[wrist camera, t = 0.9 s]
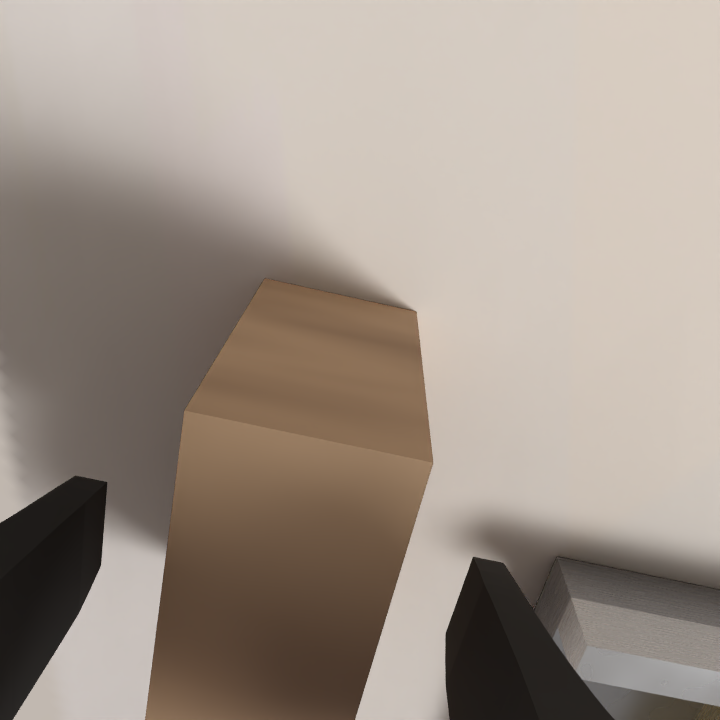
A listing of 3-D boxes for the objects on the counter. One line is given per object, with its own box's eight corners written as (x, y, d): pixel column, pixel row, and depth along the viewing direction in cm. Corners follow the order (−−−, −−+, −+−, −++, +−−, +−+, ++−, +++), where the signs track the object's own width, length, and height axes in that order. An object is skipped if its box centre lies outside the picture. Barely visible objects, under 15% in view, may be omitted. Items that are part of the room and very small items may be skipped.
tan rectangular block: (341, 593, 19) (318, 838, 13) (216, 568, 18) (134, 806, 13) (416, 310, 15) (433, 462, 9) (265, 277, 15) (184, 410, 9)
